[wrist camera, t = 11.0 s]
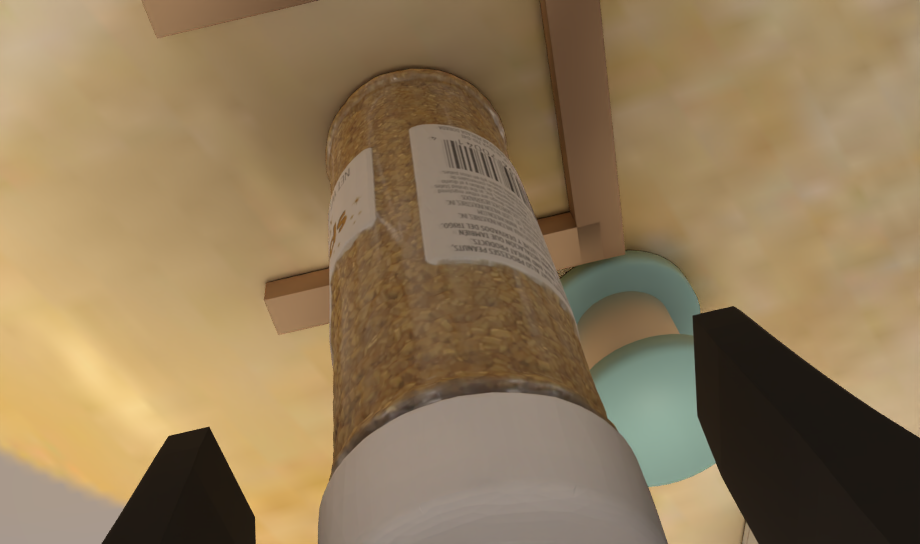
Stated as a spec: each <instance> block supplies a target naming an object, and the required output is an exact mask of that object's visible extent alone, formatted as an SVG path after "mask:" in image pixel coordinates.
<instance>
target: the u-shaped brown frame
mask: <svg viewBox="0 0 920 544" xmlns="http://www.w3.org/2000/svg"><path fill="white" fill-rule="evenodd" d="M314 1H318V0H142V3H143V5H144V8H145V10H146V13H147V15H148V18H149V20H150V22H151V25H152V27H153V30H154V32H155V35H156V37H157V38H161V37H165V36H169V35H174V34H178V33H182V32H186V31H191V30H195V29H199V28H203V27H208V26H212V25H216V24H220V23H225V22H229V21H233V20H237V19H242V18H246V17H250V16H254V15H258V14H263V13H267V12H271V11H275V10H280V9H284V8H288V7H292V6H297V5H301V4H305V3H309V2H314ZM540 5H541V12H542V19H543V26H544V33H545V40H546V47H547V54H548V61H549V68H550V75H551V82H552V89H553V96H554V103H555V110H556V117H557V124H558V131H559V138H560V145H561V152H562V159H563V166H564V173H565V180H566V187H567V194H568V201H569V208H570V212H569V213H564V214H560V215H556V216H551V217H547V218H543V219H539V220H537V222H538V225H539V227H540V230H541V232H542V235H543V237H544V240H545V242H546V245H547V248H548V250H549V253H550V255H551V258H552V261H553V263H554V265H555V268H556V270H560V269H565V268H569V267H573V266H578V265H582V264H586V263H590V262H595V261H599V260H603V259H608V258H612V257H616V256H621V255H625V254H626V253H625V243H624V234H623V224H622V214H621V204H620V194H619V185H618V175H617V165H616V155H615V146H614V136H613V126H612V116H611V106H610V97H609V87H608V77H607V67H606V57H605V48H604V38H603V28H602V18H601V9H600V0H540ZM264 301H265V304H266V306H267V308H268V311H269V313H270V316H271V318H272V321H273V323H274V326H275V328H276V331H277V333H278V335H281V334H285V333H289V332H294V331H298V330H302V329H307V328H311V327H315V326H320V325H324V324H328V323H330V289H329V268H328V269H324V270H320V271H315V272H311V273H307V274H303V275H298V276H294V277H290V278H285V279H281V280H277V281H273V282H268V283H266V288H265V297H264Z"/></svg>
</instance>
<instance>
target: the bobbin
mask: <svg viewBox="0 0 920 544" xmlns="http://www.w3.org/2000/svg"><path fill="white" fill-rule="evenodd" d="M625 253H626V254H625V255H621V256H616V257H612V258H608V259H603V260H599V261H595V262H590V263H586V264H582V265H578V266H576V267H575V268H573V269H572V270H570V271H569V272H568V273H567V274H565V275H564V276H563V277H562V278H561V279H560V281H561V284H562V287H563V289H564V292H565V294H566V297H567V299H568V302H569V304H570V307H571V310H572V312H573V315H574V318H575V321H576V324H577V328H578V332H579V336H580V343H581V346H582V349H583V352H584V355H585V358H586V361H587V363H588V366H589V370H590V373H591V376H592V379H593V381H594V383H595V386H596V389H597V392H598V394H599V396H600V399H601V401H602V403H603V405H604V408H605V410H606V414H607V418H608V419H609V420H610V421H611V422H612V423H613V424H614V425H615V427H616V428H617V430H618V432H619V433H620V434H621V435H622V436H623V437H624V438H625V440H626V441H627V443H628V444H629V446H630V447H631V449H632V450H633V452H634V454H635V456H636V458H637V460H638V463H639V465H640V468H641V470H642V473H643V475H644V478H645V480H646V483H647V486H648V487H652V486H660V485H666V484H671V483H674V482H678V481H681V480H684V479H686V478H689V477H692V476H694V475H696V474H698V473H700V472H702V471H704V470H705V469H707V468H709V467H711V466H712V465H714V464H715V463H716V462H715V459H714V457H713V455H712V452H711V450H710V447H709V445H708V442H707V440H706V437H705V434H704V432H703V429H702V427H701V424H700V422H699V419H698V417H697V401H696V380H695V360H694V339H693V318H692V316H693V315H697V314H700V306H699V302H698V299H697V296H696V294H695V293H694V291H693V289H692V287H691V286H690V284H689V282H688V281H687V279H686V277H685V276H684V274H683V273H682V272H681V270H680V269H679V268H678V267H676V266H675V265H674V264H673V263H671V262H670V261H668V260H667V259H665V258H663V257H661V256H659V255H656V254H652V253H649V252H643V251H632V250H628V251H625Z"/></svg>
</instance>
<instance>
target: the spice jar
mask: <svg viewBox="0 0 920 544" xmlns="http://www.w3.org/2000/svg"><path fill="white" fill-rule="evenodd" d="M326 168H327V175H328V178H329V181H330V182H331V200H330V206H329V213H328V231H329V289H330V348H331V357H332V365H333V372H334V376H333V395H334V399H333V420H334V432H333V446H334V452H333V465H332V470H331V475H330V479H329V483H328V485H327V487H326V490H325V492H324V494H323V497H322V501H321V505H320V510H319V522H318V544H668V543H667V540H666V537H665V534H664V531H663V528H662V525H661V522H660V519H659V516H658V513H657V510H656V507H655V504H654V502H653V499H652V496H651V494H650V491H649V488H648V486H647V483H646V480H645V478H644V475H643V473H642V470H641V468H640V465H639V463H638V460H637V458H636V456H635V454H634V452H633V450H632V449H631V447H630V446H629V444H628V443H627V441H626V440H625V438H624V437H623V436H622V435H621V434H620V433H619V432H618V430H617V428H616V427H615V425H614V424H613V423H612V422H611V421H610V420H609V419H608V418H607V414H606V410H605V408H604V405H603V403H602V401H601V399H600V396H599V394H598V392H597V389H596V386H595V383H594V381H593V379H592V376H591V373H590V370H589V366H588V363H587V361H586V358H585V355H584V352H583V349H582V346H581V343H580V336H579V332H578V328H577V324H576V321H575V318H574V315H573V312H572V310H571V307H570V304H569V302H568V299H567V297H566V294H565V292H564V289H563V287H562V284H561V281H560V279H559V276H558V273H557V271H556V268H555V265H554V263H553V261H552V258H551V255H550V253H549V250H548V248H547V245H546V242H545V240H544V237H543V235H542V232H541V230H540V227H539V225H538V222H537V220H536V217H535V215H534V212H533V210H532V207H531V205H530V202H529V200H528V197H527V194H526V192H525V189H524V187H523V184H522V182H521V180H520V177H519V175H518V173H517V171H516V169H515V168H514V166H513V165H512V163H511V162H510V159H509V157H508V154H507V140H506V135H505V131H504V128H503V125H502V122H501V120H500V117H499V115H498V114H497V112H496V111H495V110H494V109H493V107H492V105H491V103H490V102H489V101H488V99H487V98H485V97H484V96H483V95H482V94H481V93H480V92H479V91H478V90H477V89H476V88H475V87H474V86H473V85H471V84H470V83H468V82H467V81H465V80H462V79H460V78H458V77H456V76H454V75H452V74H450V73H446V72H443V71H440V70H430V69H406V70H403V71H394V72H391V73H387V74H383V75H380V76H377V77H375V78H373V79H371V80H370V81H369V82H367V83H366V84H364V85H363V86H361V87H360V88H359V89H358V90H357V91H355V92H354V93H353V94H352V95H351V96H350V97H349V98H348V100H347V101H346V103H345V105H343V106H342V107H341V109H340V111H339V112H338V114H337V115H336V117H335V118H334V120H333V122H332V125H331V127H330V130H329V134H328V139H327V145H326Z"/></svg>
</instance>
